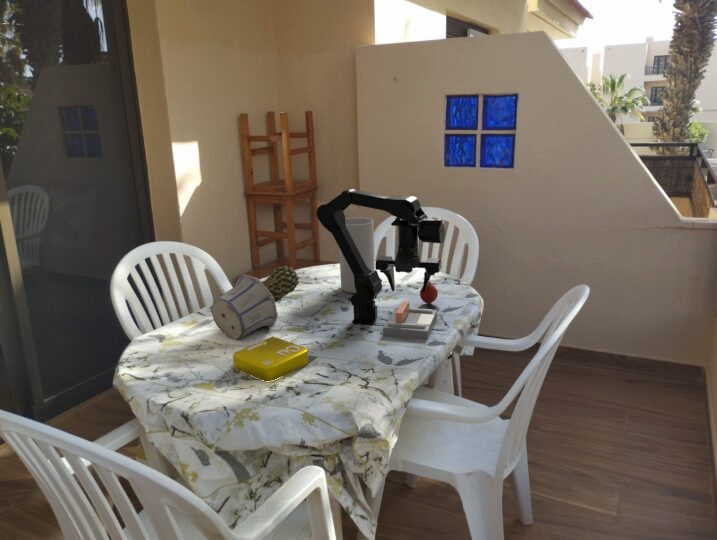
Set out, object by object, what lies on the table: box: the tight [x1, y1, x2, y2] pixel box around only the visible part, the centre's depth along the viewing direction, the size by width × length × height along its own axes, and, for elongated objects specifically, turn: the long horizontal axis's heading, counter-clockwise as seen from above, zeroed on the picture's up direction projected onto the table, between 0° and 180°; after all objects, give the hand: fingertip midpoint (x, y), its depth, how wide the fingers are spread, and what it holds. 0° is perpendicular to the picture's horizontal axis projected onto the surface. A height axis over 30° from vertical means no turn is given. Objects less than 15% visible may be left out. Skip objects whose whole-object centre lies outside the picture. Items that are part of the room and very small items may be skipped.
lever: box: [396, 300, 410, 322], centre depth 172 cm, size 2×10×3 cm, turn 163°
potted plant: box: [210, 265, 300, 340], centre depth 175 cm, size 18×18×30 cm
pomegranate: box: [419, 280, 439, 305], centre depth 189 cm, size 6×6×8 cm
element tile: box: [232, 336, 309, 381], centre depth 150 cm, size 15×15×5 cm
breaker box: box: [382, 306, 438, 340], centre depth 172 cm, size 13×17×3 cm
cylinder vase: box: [338, 217, 376, 294], centre depth 205 cm, size 12×12×25 cm
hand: (408, 292), depth 169 cm, fingers open, 9 cm apart
